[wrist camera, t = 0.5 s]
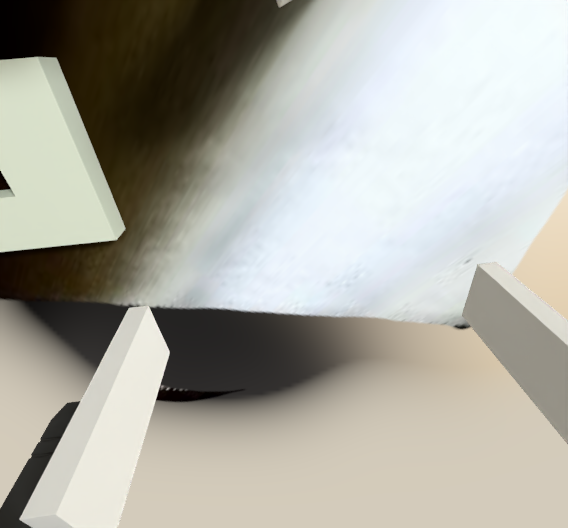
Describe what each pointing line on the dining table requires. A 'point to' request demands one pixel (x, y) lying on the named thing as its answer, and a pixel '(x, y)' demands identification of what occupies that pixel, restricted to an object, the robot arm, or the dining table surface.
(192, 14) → the dining table surface
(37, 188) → the board
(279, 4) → the milk
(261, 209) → the dining table surface
